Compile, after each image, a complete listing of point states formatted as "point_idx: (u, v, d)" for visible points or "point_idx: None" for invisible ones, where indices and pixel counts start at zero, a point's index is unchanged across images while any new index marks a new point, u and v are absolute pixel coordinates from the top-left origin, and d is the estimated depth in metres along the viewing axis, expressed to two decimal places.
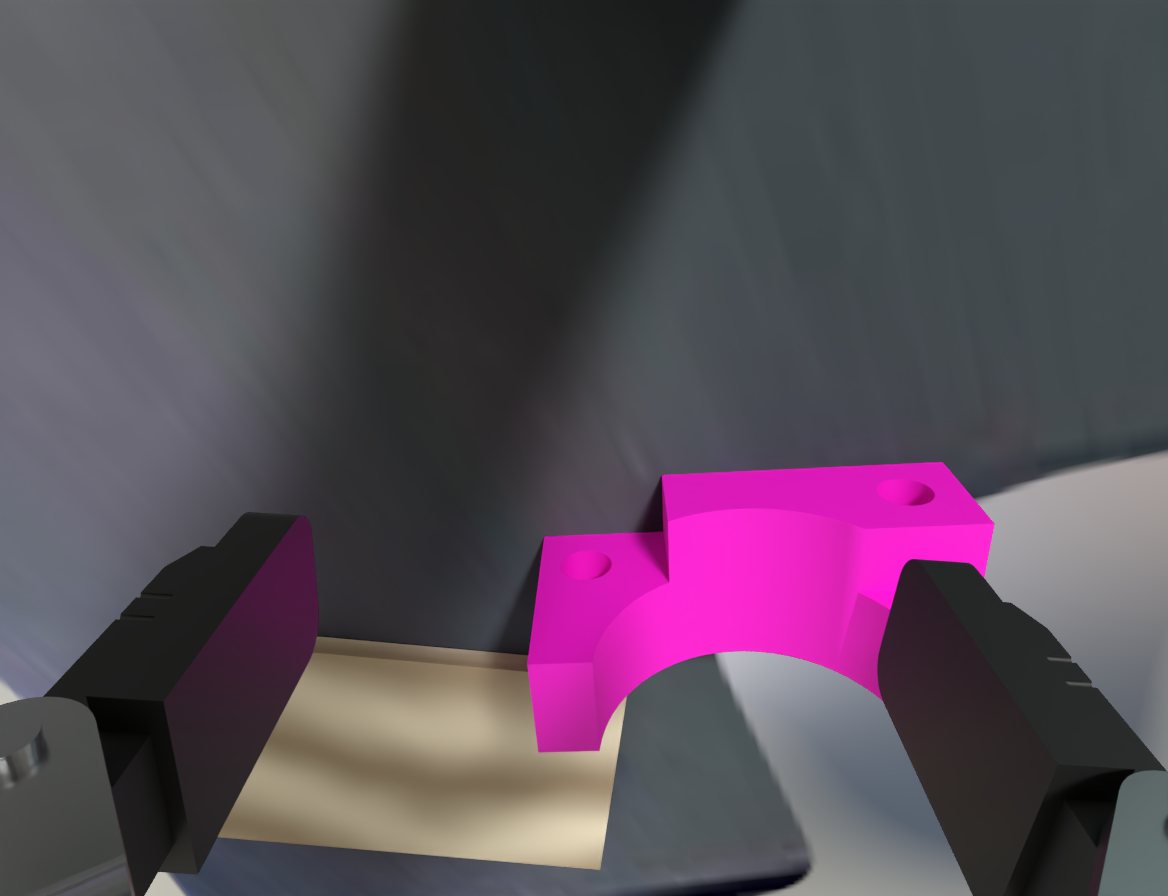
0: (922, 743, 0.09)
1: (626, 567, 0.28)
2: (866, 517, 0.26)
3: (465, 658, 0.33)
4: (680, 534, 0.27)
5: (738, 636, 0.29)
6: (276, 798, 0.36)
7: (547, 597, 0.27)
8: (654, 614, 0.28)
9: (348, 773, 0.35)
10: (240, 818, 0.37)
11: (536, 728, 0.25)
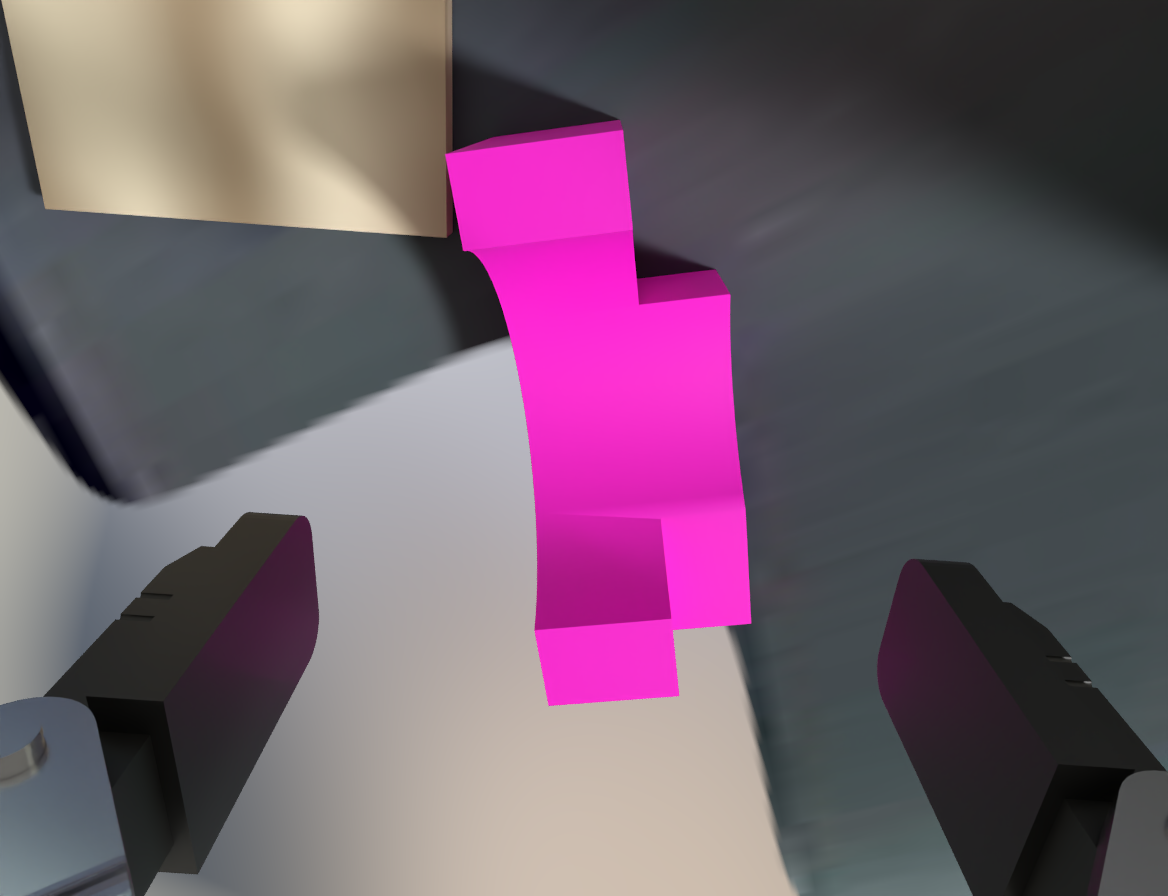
0: (922, 743, 0.09)
1: None
2: None
3: None
4: (706, 309, 0.22)
5: (545, 395, 0.23)
6: None
7: None
8: (597, 292, 0.21)
9: None
10: None
11: (494, 149, 0.16)
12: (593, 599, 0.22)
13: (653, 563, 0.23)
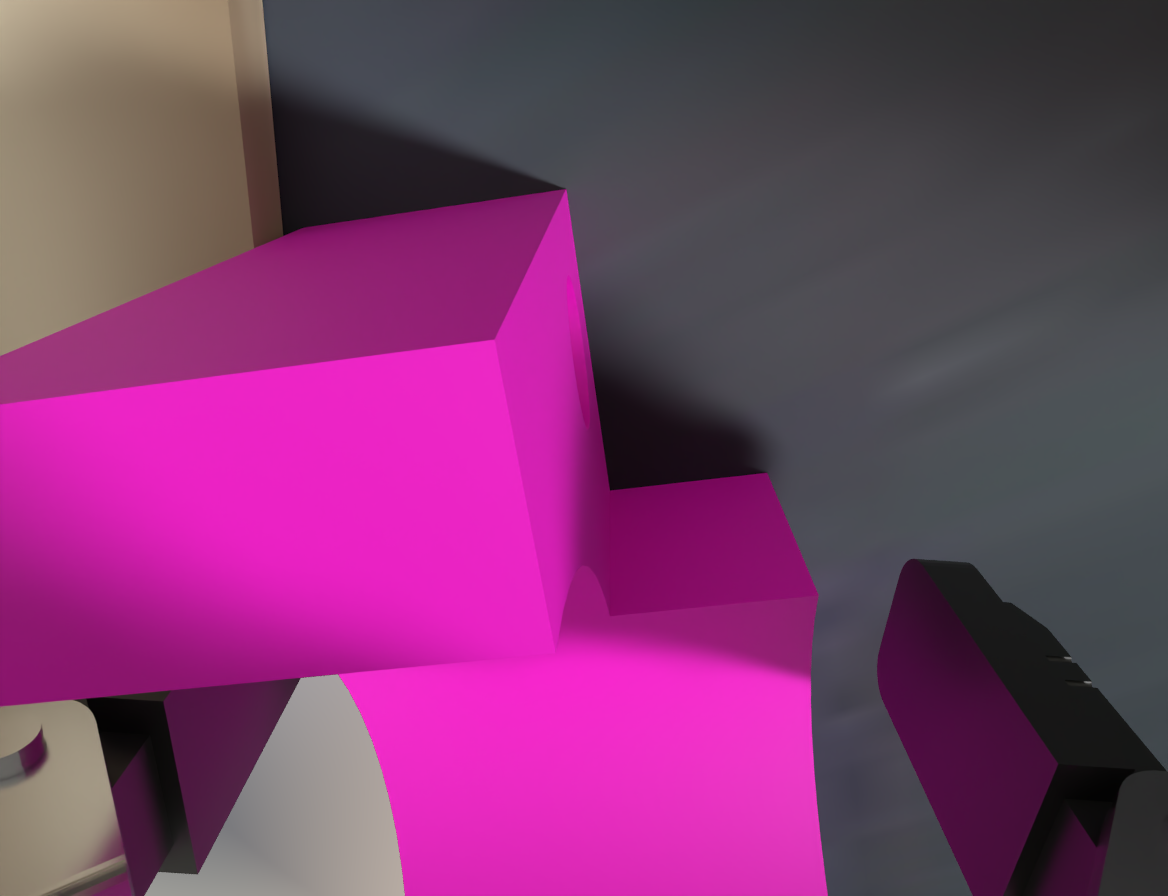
0: (922, 743, 0.09)
1: (595, 470, 0.10)
2: None
3: None
4: (761, 618, 0.10)
5: (424, 754, 0.11)
6: None
7: (551, 278, 0.07)
8: None
9: None
10: None
11: (15, 407, 0.04)
12: None
13: None
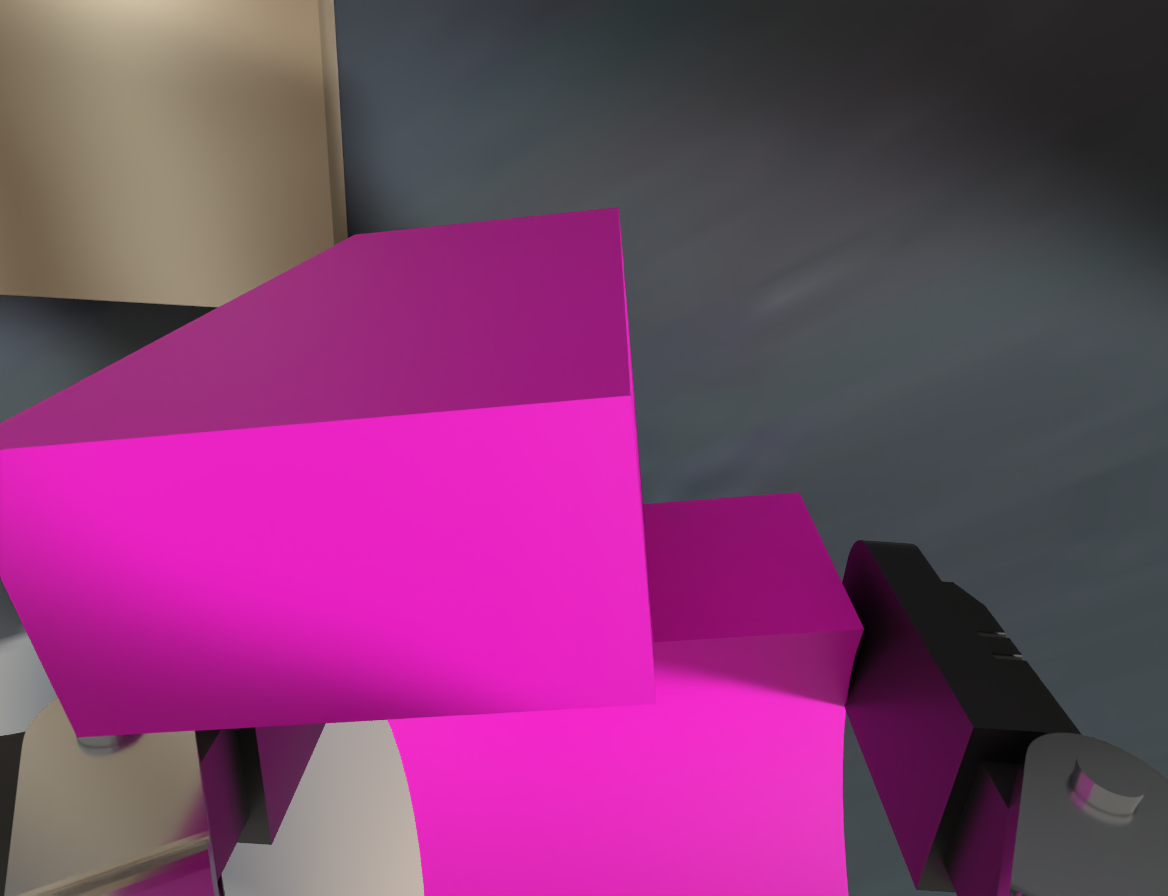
0: (865, 716, 0.10)
1: None
2: None
3: None
4: (804, 650, 0.10)
5: (452, 770, 0.11)
6: None
7: None
8: None
9: None
10: None
11: (130, 443, 0.04)
12: None
13: None
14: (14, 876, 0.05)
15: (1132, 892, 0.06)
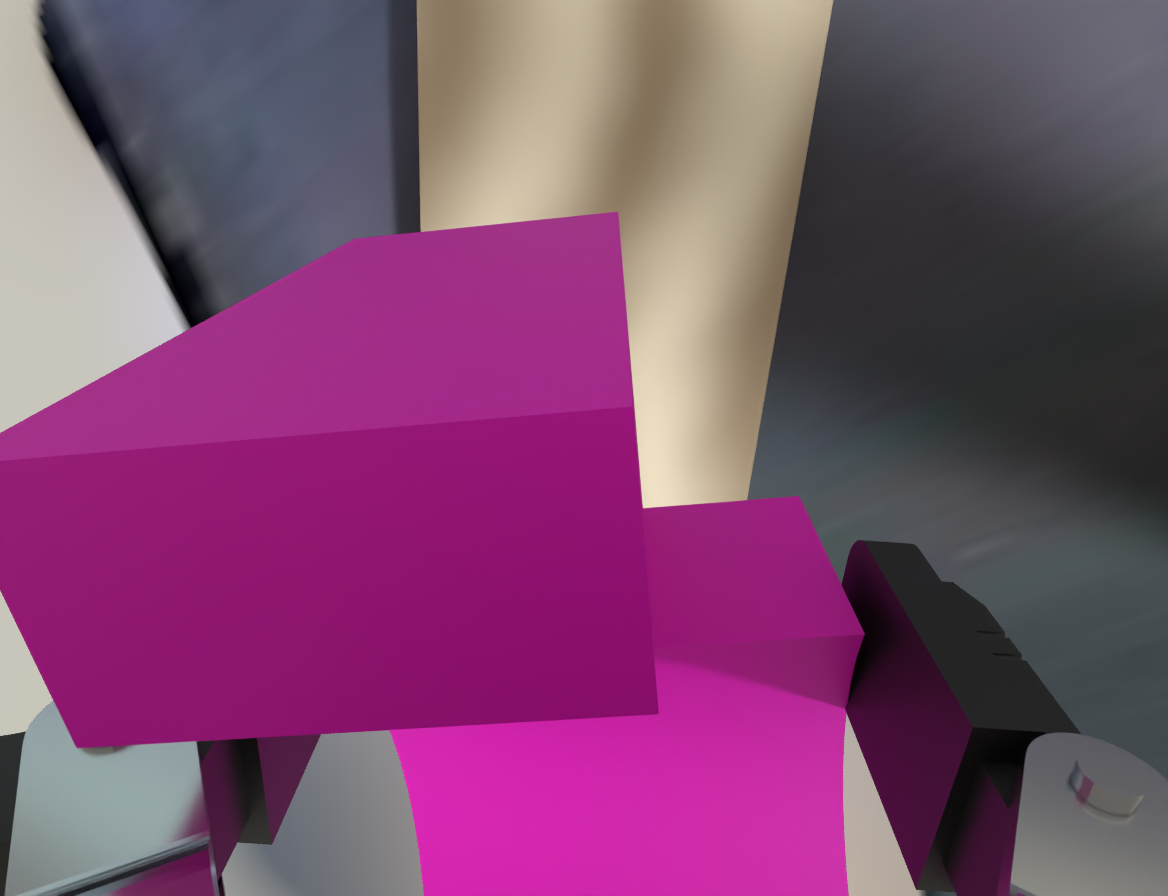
0: (864, 716, 0.10)
1: None
2: None
3: None
4: (805, 654, 0.10)
5: (452, 775, 0.11)
6: (518, 117, 0.24)
7: (626, 315, 0.07)
8: None
9: None
10: (466, 47, 0.23)
11: (130, 454, 0.04)
12: None
13: None
14: (14, 876, 0.05)
15: (1131, 891, 0.06)
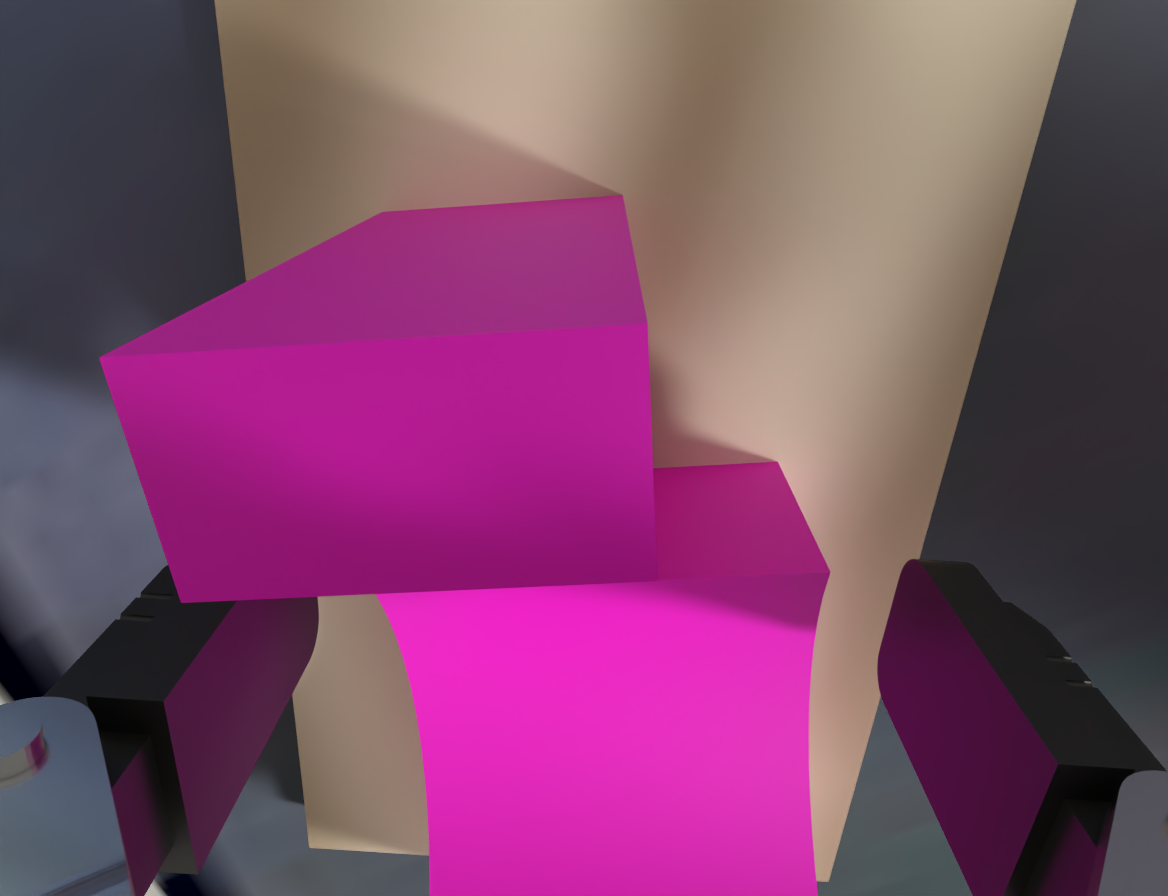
0: (922, 743, 0.09)
1: None
2: None
3: None
4: (777, 591, 0.11)
5: (457, 702, 0.12)
6: (431, 143, 0.12)
7: None
8: None
9: None
10: None
11: (251, 352, 0.05)
12: None
13: None
14: None
15: None
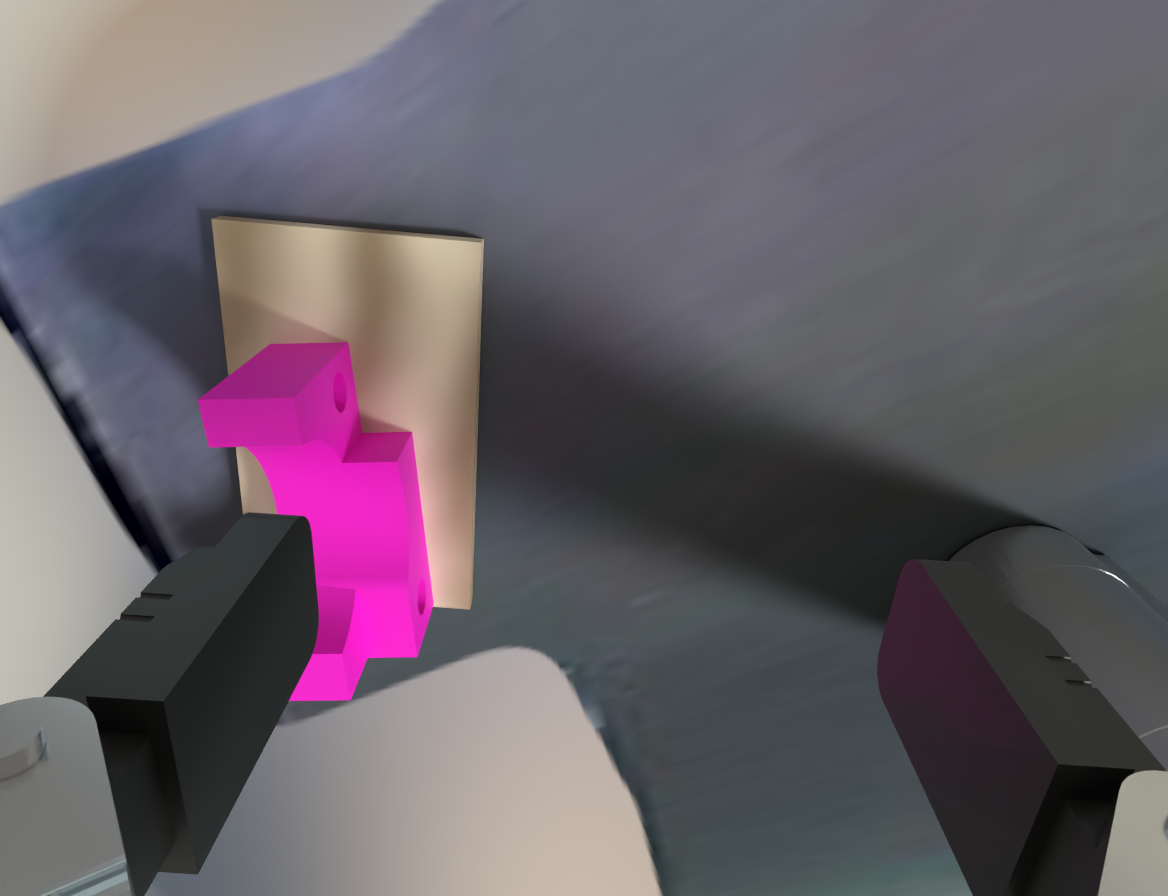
0: (922, 743, 0.09)
1: (343, 424, 0.36)
2: (411, 585, 0.38)
3: (474, 495, 0.41)
4: (384, 468, 0.36)
5: (290, 506, 0.38)
6: (287, 326, 0.37)
7: (322, 378, 0.34)
8: (313, 455, 0.35)
9: None
10: (250, 284, 0.36)
11: (224, 400, 0.30)
12: None
13: (344, 617, 0.37)
14: None
15: None
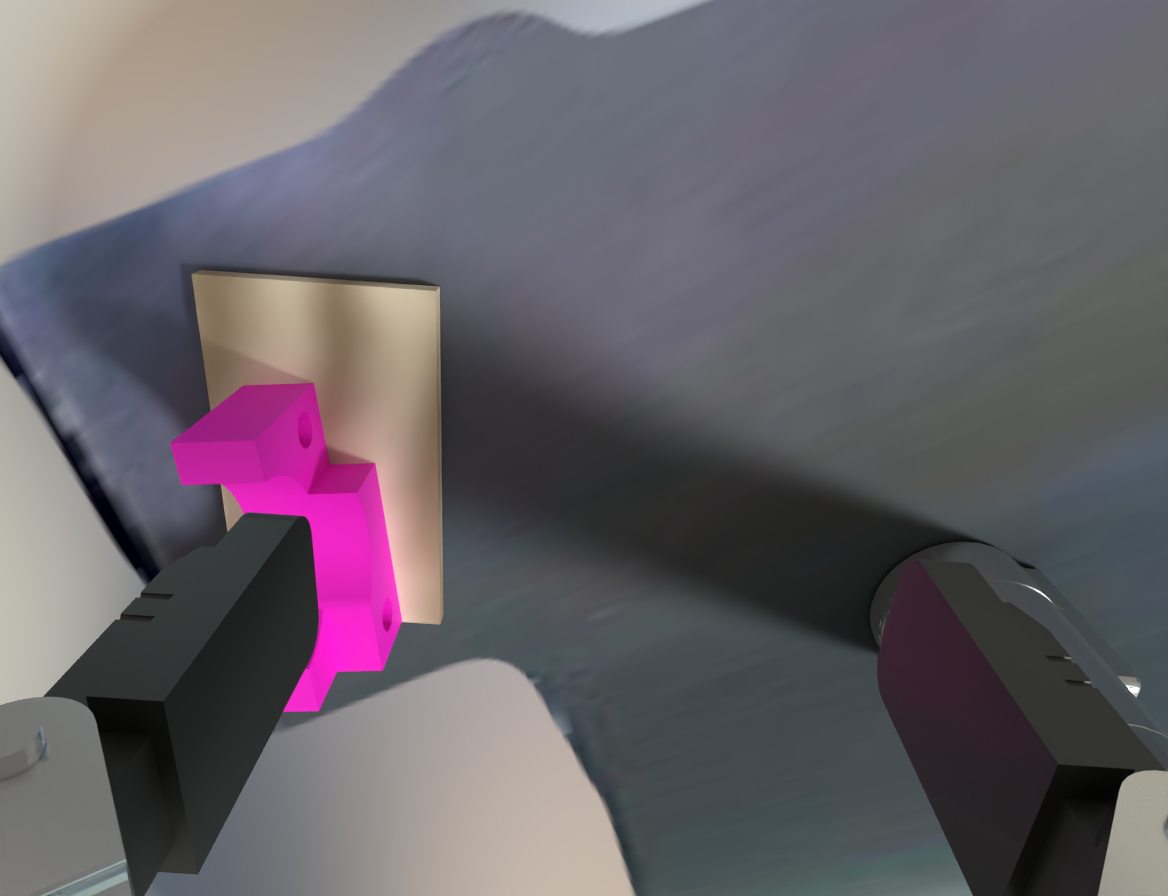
0: (922, 743, 0.09)
1: (308, 458, 0.40)
2: (375, 604, 0.42)
3: (440, 519, 0.44)
4: (346, 498, 0.40)
5: None
6: (263, 368, 0.40)
7: (286, 419, 0.37)
8: (281, 488, 0.39)
9: None
10: (227, 332, 0.40)
11: (194, 442, 0.34)
12: None
13: None
14: None
15: None
